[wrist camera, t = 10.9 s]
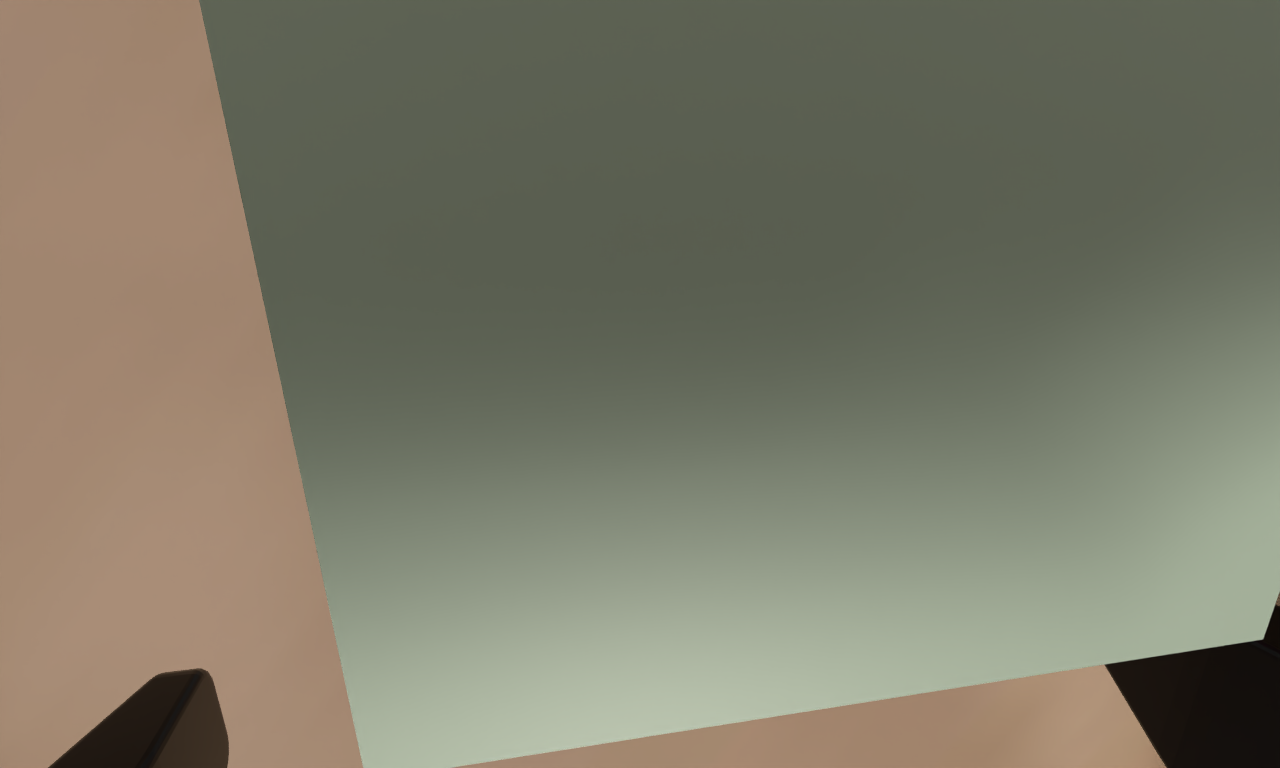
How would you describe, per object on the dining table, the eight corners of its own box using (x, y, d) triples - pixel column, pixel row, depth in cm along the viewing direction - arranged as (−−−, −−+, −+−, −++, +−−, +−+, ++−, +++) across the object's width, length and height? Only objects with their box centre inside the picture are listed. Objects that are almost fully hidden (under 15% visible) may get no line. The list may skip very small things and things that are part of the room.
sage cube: (941, -211, 7) (1668, -532, 3) (887, 335, 9) (1263, 639, 5) (336, -216, 7) (60, -657, 2) (419, 378, 9) (365, 778, 4)
